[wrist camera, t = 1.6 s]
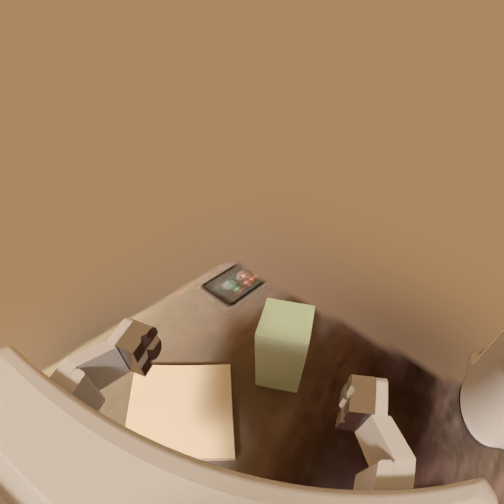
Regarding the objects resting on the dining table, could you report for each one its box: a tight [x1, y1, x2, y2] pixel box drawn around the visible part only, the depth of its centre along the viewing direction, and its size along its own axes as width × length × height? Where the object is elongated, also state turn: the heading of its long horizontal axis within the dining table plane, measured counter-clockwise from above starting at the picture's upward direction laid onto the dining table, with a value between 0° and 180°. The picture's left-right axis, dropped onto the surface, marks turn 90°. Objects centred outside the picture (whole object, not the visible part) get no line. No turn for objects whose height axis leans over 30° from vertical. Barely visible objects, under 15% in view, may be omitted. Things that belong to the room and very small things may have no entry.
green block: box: [255, 298, 315, 393], centre depth 29 cm, size 5×5×10 cm
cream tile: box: [125, 364, 236, 461], centre depth 27 cm, size 12×12×1 cm
